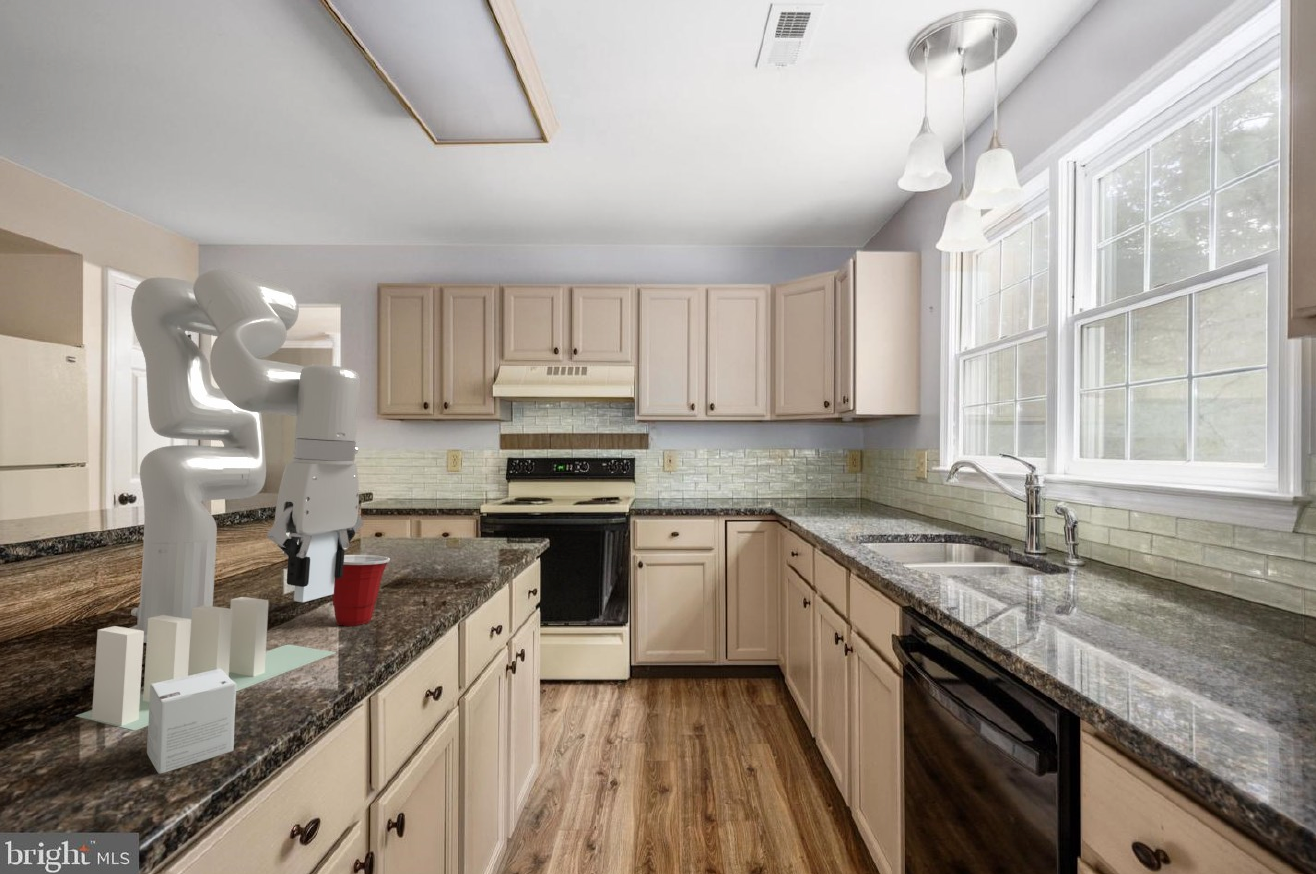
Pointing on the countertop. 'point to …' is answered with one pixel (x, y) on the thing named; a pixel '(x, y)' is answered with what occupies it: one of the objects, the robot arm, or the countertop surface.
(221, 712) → the skincare box
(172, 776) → the countertop surface
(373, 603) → the plastic cup
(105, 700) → the domino
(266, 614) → the domino
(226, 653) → the domino
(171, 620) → the domino
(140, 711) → the strip
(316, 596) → the domino
